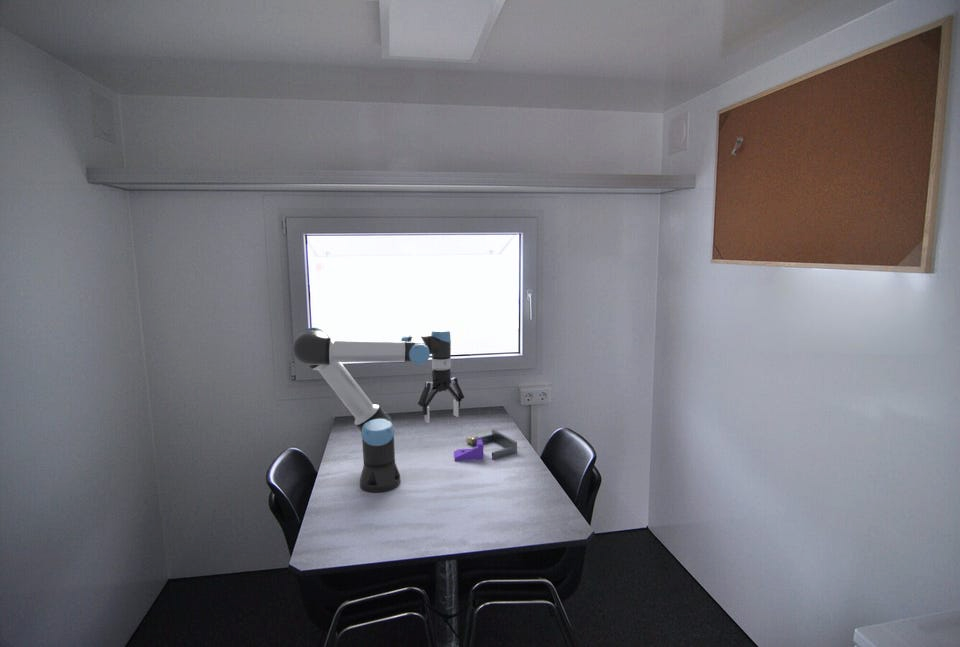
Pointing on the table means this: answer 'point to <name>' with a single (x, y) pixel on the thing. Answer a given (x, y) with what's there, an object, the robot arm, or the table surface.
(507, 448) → the dock
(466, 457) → the bracket
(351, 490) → the table surface
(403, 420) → the table surface
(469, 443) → the brass key
